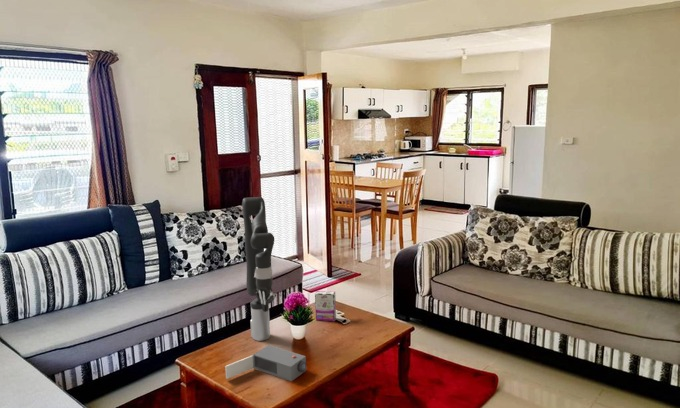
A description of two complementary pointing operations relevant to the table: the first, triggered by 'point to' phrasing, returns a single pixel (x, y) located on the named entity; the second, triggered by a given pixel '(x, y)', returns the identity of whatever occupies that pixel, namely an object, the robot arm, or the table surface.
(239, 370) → the side door
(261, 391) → the table surface
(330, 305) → the candy bar box
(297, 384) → the table surface
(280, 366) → the camera box
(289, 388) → the table surface
